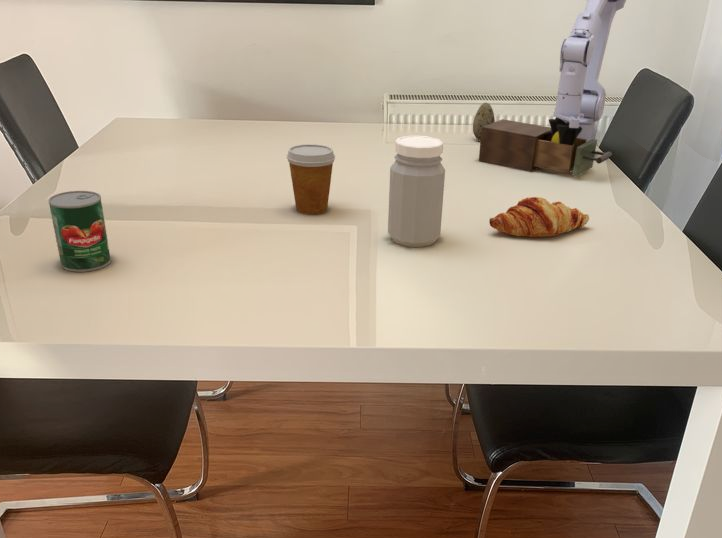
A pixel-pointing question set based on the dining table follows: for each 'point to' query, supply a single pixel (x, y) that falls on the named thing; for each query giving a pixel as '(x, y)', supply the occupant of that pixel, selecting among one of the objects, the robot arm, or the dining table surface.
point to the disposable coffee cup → (311, 176)
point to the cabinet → (510, 144)
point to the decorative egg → (482, 119)
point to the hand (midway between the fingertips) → (560, 153)
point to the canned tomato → (80, 230)
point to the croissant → (538, 218)
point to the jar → (416, 191)
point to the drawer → (567, 155)
